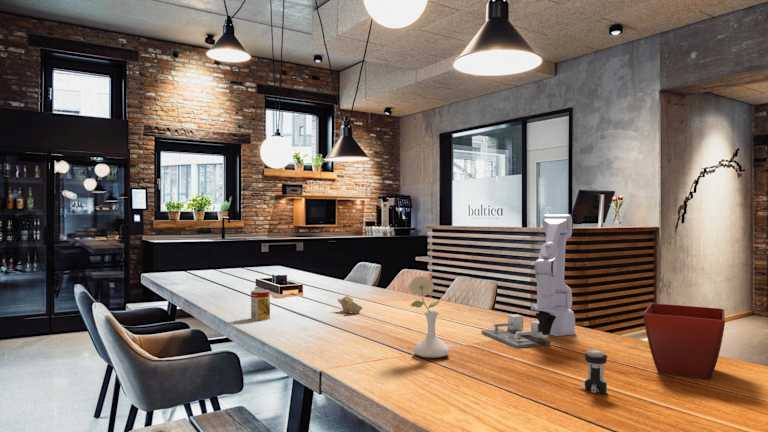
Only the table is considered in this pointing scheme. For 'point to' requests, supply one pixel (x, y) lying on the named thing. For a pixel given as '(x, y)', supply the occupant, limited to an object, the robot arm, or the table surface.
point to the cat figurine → (349, 305)
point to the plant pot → (684, 338)
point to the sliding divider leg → (533, 331)
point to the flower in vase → (431, 343)
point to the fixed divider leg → (512, 323)
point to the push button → (595, 372)
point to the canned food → (260, 305)
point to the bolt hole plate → (509, 338)
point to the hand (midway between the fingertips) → (546, 334)
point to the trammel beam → (539, 340)
